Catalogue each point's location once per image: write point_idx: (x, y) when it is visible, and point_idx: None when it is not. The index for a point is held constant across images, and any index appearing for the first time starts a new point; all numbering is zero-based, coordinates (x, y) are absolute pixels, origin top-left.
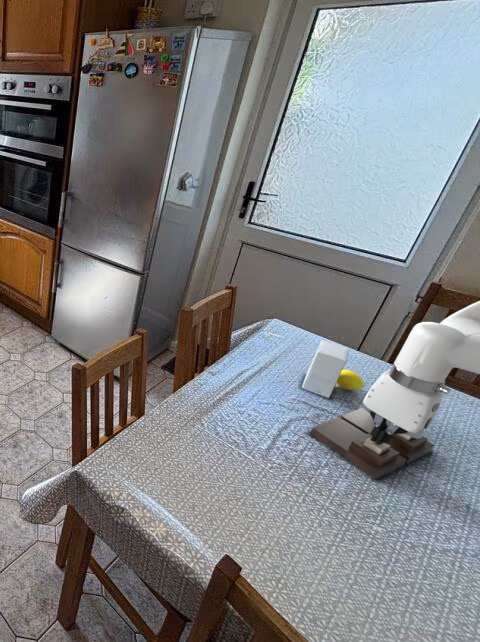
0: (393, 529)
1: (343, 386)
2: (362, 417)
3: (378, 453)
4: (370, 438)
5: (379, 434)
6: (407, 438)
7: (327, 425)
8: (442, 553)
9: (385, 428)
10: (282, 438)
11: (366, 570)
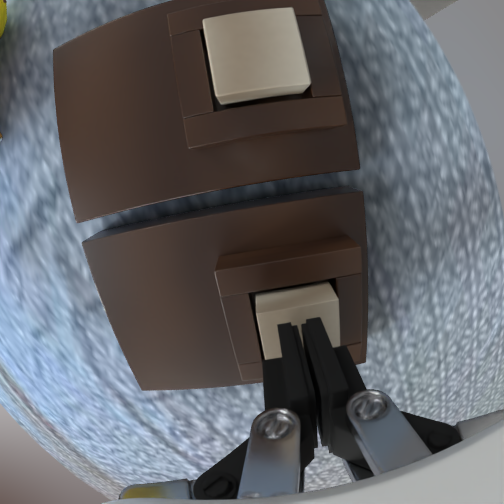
0: (432, 401)
1: None
2: (95, 127)
3: None
4: (268, 348)
5: (317, 423)
6: (298, 92)
7: (128, 338)
8: (487, 358)
9: (315, 413)
10: (167, 433)
11: None
